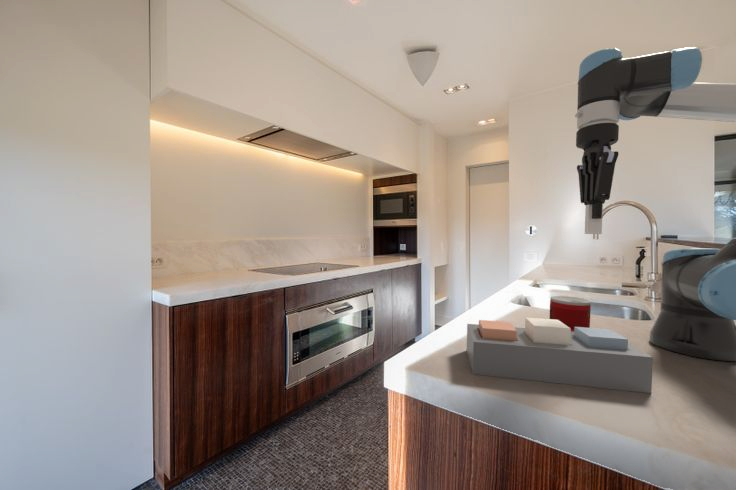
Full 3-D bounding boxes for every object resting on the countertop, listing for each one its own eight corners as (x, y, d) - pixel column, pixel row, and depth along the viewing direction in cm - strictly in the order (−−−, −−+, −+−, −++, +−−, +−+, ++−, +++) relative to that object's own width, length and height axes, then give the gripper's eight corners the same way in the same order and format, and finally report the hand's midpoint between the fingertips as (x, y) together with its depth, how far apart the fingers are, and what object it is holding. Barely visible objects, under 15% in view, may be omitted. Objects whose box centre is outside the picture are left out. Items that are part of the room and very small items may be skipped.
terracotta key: (508, 345, 63) (509, 322, 63) (515, 357, 58) (516, 330, 57) (478, 343, 65) (478, 319, 65) (482, 353, 59) (482, 328, 59)
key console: (610, 363, 62) (612, 334, 62) (651, 393, 50) (652, 357, 50) (466, 350, 68) (467, 323, 68) (472, 373, 57) (473, 341, 56)
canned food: (595, 352, 68) (597, 303, 68) (556, 349, 70) (557, 301, 69) (579, 341, 76) (580, 296, 75) (544, 338, 77) (545, 295, 77)
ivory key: (557, 344, 61) (557, 319, 61) (569, 355, 56) (570, 328, 55) (524, 341, 63) (525, 317, 63) (533, 352, 57) (534, 325, 57)
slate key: (608, 354, 60) (609, 329, 59) (626, 367, 54) (628, 339, 54) (573, 351, 61) (574, 326, 61) (588, 363, 55) (589, 336, 55)
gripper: (565, 137, 75) (562, 234, 76) (592, 117, 62) (588, 233, 63) (601, 135, 73) (597, 234, 74) (635, 114, 60) (630, 233, 61)
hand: (593, 233), depth 68 cm, fingers closed
